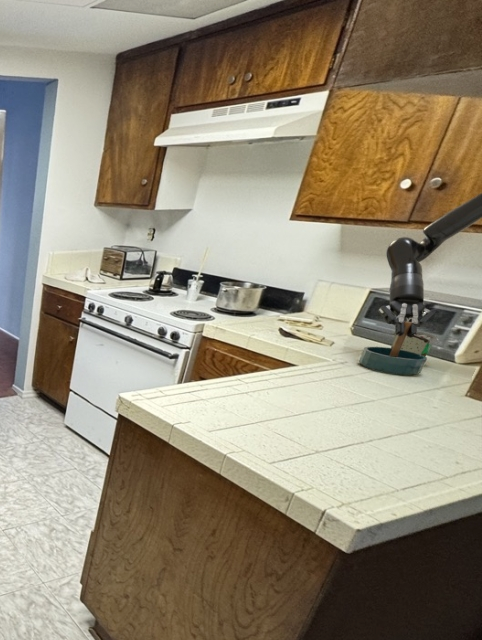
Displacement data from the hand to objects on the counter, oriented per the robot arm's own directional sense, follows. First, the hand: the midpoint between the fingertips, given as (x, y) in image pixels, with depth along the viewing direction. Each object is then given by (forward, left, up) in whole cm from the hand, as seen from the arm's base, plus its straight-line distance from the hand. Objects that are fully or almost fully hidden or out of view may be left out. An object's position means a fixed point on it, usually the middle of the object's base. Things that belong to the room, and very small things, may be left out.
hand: (405, 334), depth 148 cm
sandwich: (-10, -17, -12) cm, 23 cm away
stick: (0, -2, -11) cm, 11 cm away
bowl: (0, -2, -12) cm, 12 cm away
